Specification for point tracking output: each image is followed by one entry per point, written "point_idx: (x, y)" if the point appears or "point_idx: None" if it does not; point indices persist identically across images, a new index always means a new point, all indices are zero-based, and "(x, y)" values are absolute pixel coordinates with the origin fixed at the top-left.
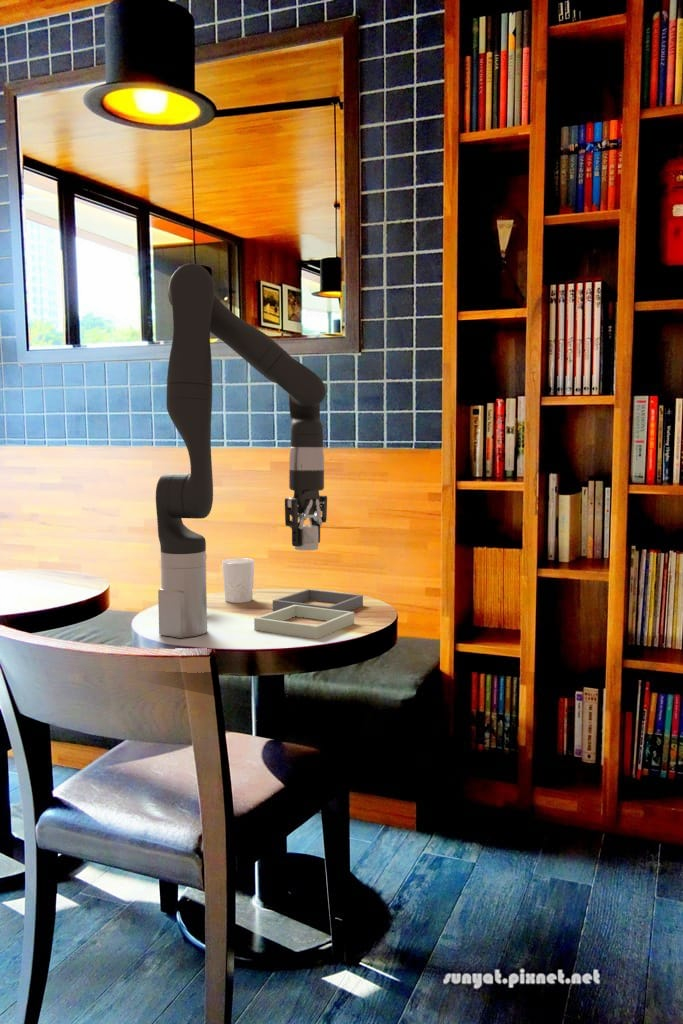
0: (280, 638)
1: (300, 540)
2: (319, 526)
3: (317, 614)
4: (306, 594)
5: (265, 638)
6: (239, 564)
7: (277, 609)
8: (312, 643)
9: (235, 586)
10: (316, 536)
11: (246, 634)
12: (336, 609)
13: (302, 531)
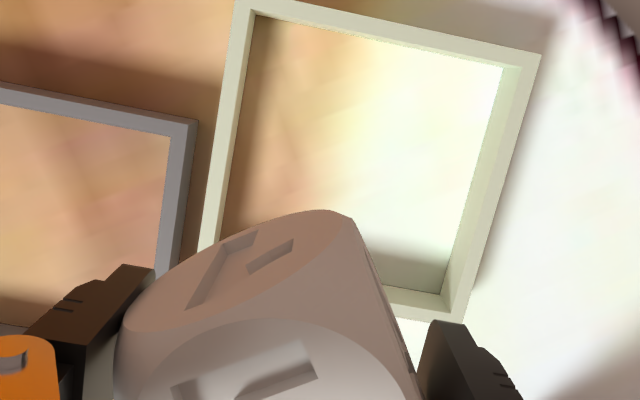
0: (538, 184)
1: (475, 348)
2: (48, 347)
3: (228, 165)
4: None
5: (548, 230)
6: None
7: None
8: (581, 51)
9: None
10: (359, 244)
11: (511, 307)
12: (139, 112)
13: (472, 394)
